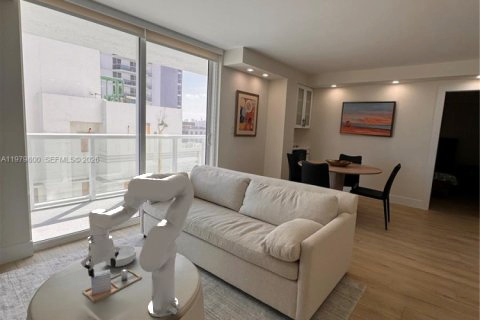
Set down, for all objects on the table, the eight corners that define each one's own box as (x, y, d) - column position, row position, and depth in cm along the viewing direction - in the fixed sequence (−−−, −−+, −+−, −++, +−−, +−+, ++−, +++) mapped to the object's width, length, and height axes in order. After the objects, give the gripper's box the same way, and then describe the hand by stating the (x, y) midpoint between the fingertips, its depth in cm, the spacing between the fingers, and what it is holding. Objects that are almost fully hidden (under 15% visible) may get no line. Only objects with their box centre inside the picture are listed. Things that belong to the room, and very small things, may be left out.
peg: (128, 279, 127) (128, 270, 126) (123, 282, 125) (123, 272, 124) (125, 277, 128) (125, 268, 128) (120, 279, 126) (120, 270, 126)
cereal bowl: (128, 272, 135) (127, 260, 134) (97, 271, 135) (97, 258, 135) (141, 256, 152) (141, 245, 151) (114, 255, 152) (114, 244, 151)
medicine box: (110, 285, 122) (110, 268, 120) (111, 290, 118) (110, 273, 117) (91, 290, 118) (91, 273, 117) (91, 295, 114) (91, 278, 113)
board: (142, 281, 128) (142, 277, 128) (95, 306, 109) (95, 302, 109) (128, 272, 135) (128, 268, 135) (81, 294, 116) (81, 290, 116)
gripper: (83, 245, 105) (86, 283, 107) (122, 231, 119) (125, 265, 121) (75, 241, 109) (78, 278, 111) (114, 228, 123) (116, 261, 125)
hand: (102, 271), depth 116 cm, fingers open, 9 cm apart
